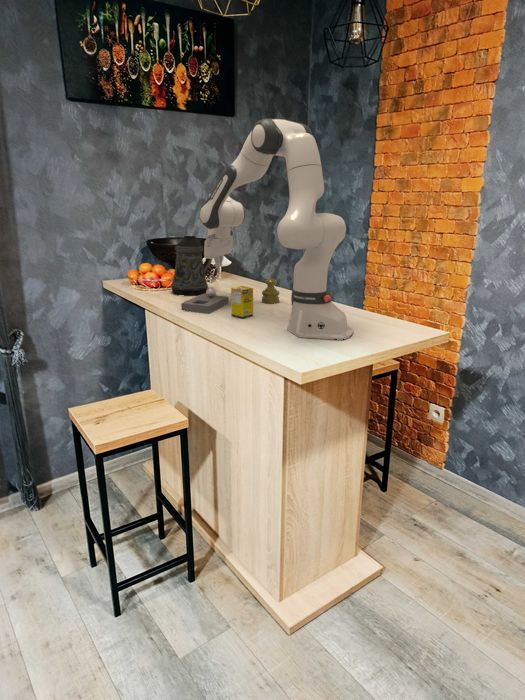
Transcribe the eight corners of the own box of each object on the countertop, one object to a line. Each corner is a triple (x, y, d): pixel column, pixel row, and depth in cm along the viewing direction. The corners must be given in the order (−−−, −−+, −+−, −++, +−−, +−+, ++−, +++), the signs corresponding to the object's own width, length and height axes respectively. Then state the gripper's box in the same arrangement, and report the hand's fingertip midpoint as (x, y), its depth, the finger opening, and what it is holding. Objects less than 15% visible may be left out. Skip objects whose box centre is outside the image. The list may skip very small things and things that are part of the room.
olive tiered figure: (282, 303, 207) (282, 279, 203) (265, 304, 204) (266, 280, 201) (275, 299, 213) (275, 276, 210) (259, 300, 211) (259, 277, 207)
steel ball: (217, 296, 203) (217, 287, 202) (213, 298, 200) (213, 288, 198) (208, 295, 205) (208, 286, 203) (204, 297, 201) (204, 288, 200)
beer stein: (164, 294, 220) (161, 237, 212) (186, 286, 237) (184, 233, 229) (196, 297, 214) (195, 239, 206) (217, 289, 231) (216, 235, 223)
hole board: (228, 303, 205) (228, 296, 204) (209, 313, 189) (208, 306, 188) (202, 300, 209) (202, 293, 208) (181, 310, 193) (181, 303, 192)
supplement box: (253, 316, 186) (253, 287, 183) (242, 319, 182) (242, 290, 179) (242, 313, 190) (242, 285, 187) (231, 316, 186) (230, 287, 182)
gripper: (214, 236, 191) (214, 271, 196) (235, 231, 209) (235, 263, 214) (199, 235, 193) (200, 270, 198) (222, 230, 211) (222, 262, 216)
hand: (218, 266), depth 206 cm, fingers closed
